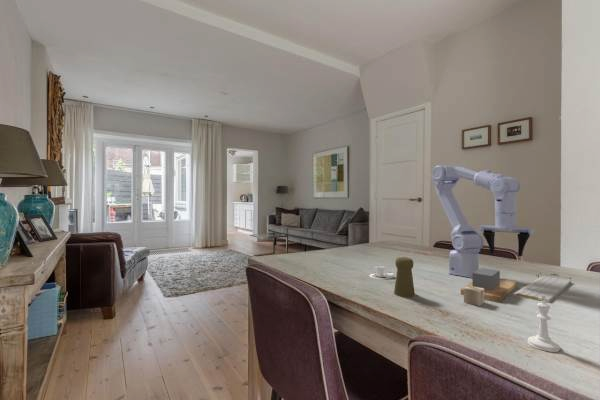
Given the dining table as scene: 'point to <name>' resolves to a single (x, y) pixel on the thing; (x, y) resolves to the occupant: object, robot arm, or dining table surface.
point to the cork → (404, 277)
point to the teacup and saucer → (381, 273)
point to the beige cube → (474, 295)
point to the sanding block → (486, 279)
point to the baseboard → (543, 288)
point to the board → (498, 290)
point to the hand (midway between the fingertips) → (506, 254)
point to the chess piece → (543, 330)
